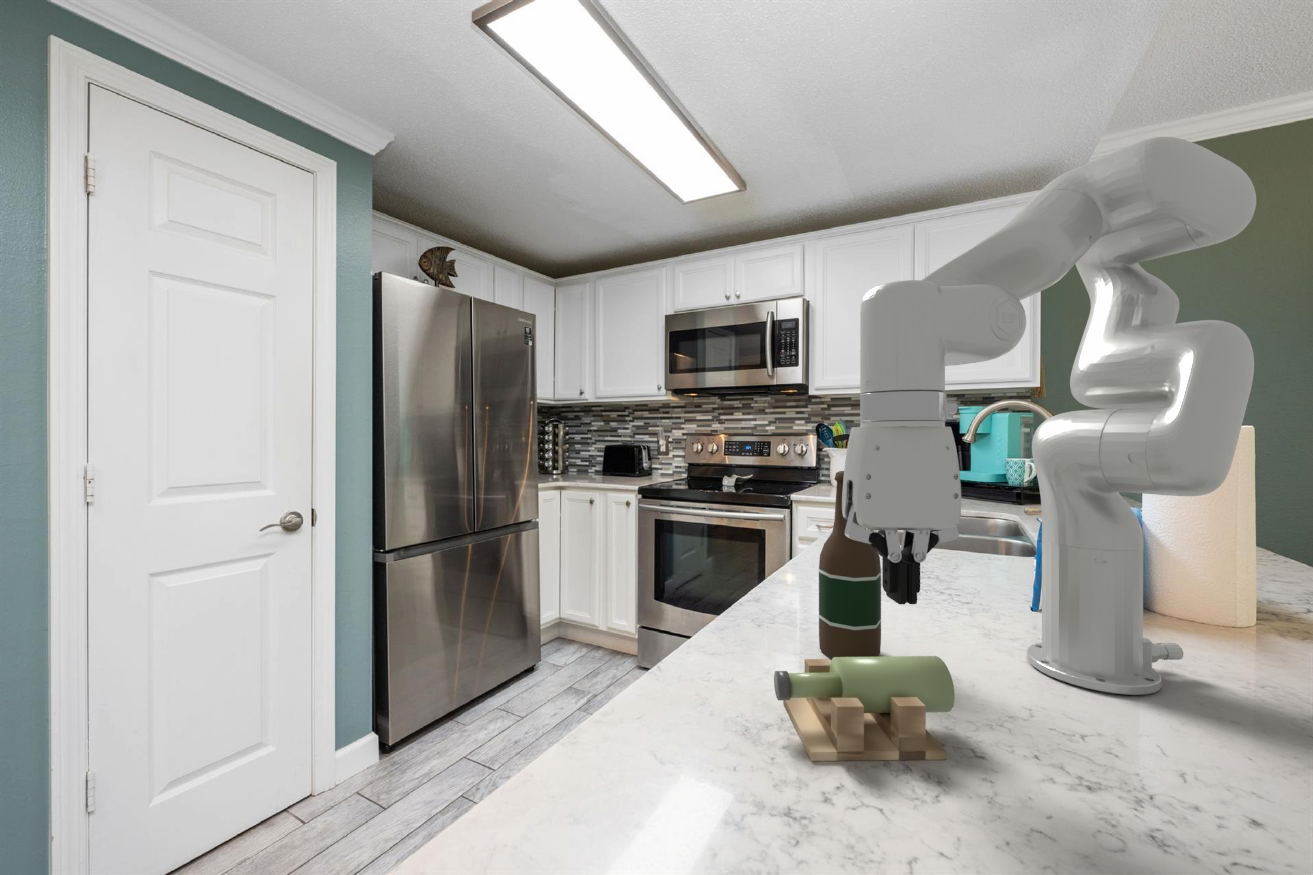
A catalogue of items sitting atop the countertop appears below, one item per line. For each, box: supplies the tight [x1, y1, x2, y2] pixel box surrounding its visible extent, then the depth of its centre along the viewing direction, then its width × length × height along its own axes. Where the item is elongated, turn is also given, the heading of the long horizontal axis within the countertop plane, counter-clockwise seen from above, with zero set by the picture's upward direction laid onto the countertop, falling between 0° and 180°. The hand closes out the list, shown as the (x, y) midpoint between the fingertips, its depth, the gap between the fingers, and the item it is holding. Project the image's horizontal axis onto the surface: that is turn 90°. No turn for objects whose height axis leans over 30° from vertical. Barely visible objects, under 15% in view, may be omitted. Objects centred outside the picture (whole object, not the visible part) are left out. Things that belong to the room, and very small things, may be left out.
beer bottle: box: [818, 470, 882, 660], centre depth 70 cm, size 8×8×24 cm
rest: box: [782, 658, 947, 762], centre depth 52 cm, size 12×10×5 cm
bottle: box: [773, 655, 956, 713], centre depth 52 cm, size 5×5×16 cm
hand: (901, 599), depth 52 cm, fingers closed
